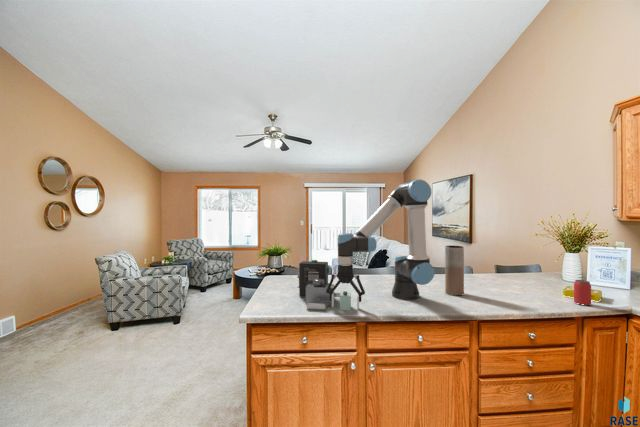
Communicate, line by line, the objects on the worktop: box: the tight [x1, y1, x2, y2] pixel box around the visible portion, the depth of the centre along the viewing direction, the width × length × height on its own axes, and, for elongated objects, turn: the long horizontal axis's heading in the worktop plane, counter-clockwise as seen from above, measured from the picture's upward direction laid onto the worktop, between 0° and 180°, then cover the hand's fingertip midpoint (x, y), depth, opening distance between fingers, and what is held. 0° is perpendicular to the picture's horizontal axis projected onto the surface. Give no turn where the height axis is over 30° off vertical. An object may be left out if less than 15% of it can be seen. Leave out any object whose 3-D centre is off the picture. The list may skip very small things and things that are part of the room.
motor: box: [305, 279, 341, 312], centre depth 148 cm, size 18×16×12 cm
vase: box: [444, 245, 465, 296], centre depth 170 cm, size 10×10×28 cm
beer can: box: [573, 279, 592, 306], centre depth 149 cm, size 7×7×12 cm
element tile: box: [562, 285, 603, 301], centre depth 162 cm, size 15×15×5 cm
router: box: [296, 259, 331, 298], centre depth 167 cm, size 8×18×20 cm, turn 78°
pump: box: [339, 290, 352, 311], centre depth 144 cm, size 5×6×8 cm
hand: (345, 307), depth 144 cm, fingers open, 12 cm apart
